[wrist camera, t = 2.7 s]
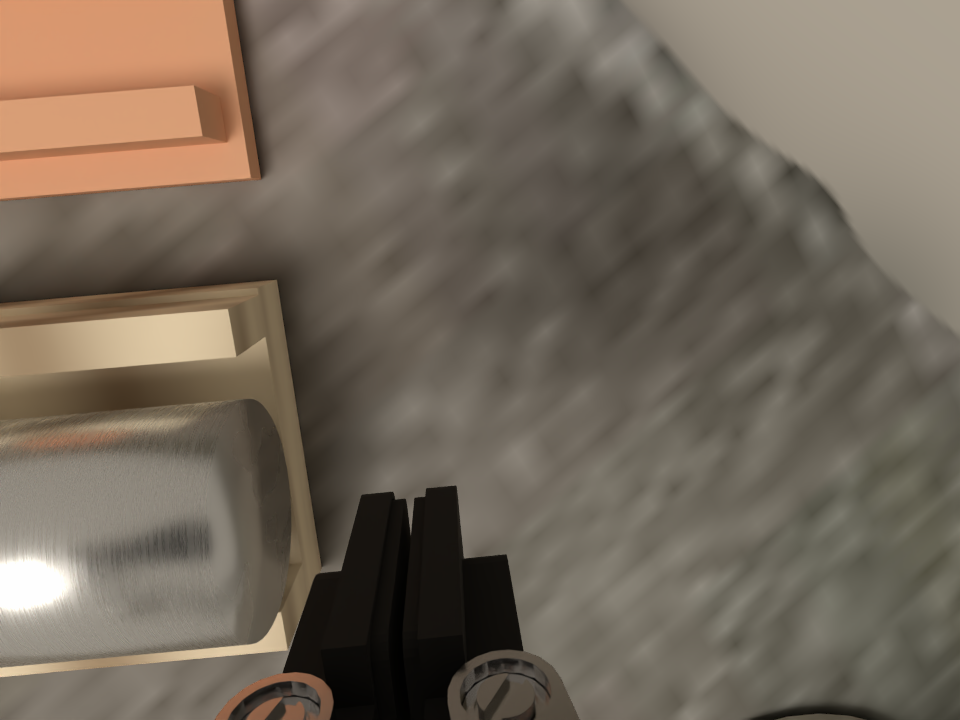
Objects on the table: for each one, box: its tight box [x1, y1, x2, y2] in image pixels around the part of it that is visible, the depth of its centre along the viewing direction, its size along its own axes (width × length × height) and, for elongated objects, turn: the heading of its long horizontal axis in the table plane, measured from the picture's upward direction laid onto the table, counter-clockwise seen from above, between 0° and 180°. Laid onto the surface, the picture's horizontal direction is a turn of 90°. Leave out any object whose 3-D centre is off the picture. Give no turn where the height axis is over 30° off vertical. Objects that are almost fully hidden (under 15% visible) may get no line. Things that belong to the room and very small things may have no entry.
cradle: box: [0, 0, 261, 201], centre depth 17 cm, size 10×8×3 cm
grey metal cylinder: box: [0, 399, 291, 668], centre depth 16 cm, size 10×6×6 cm, turn 95°
